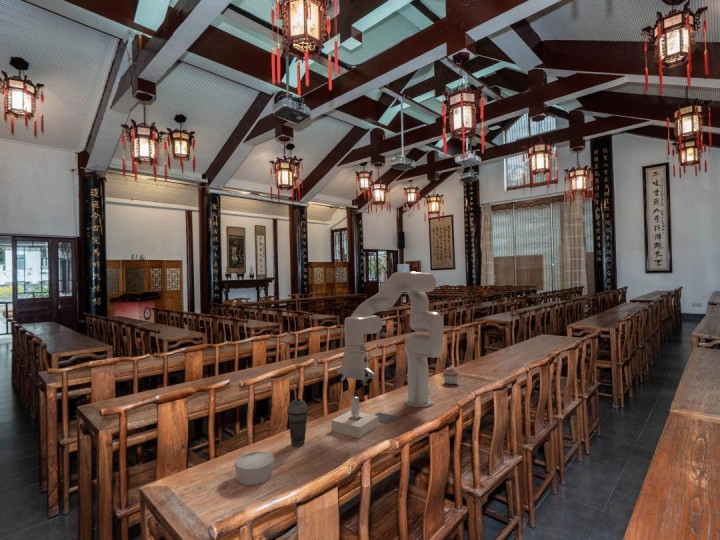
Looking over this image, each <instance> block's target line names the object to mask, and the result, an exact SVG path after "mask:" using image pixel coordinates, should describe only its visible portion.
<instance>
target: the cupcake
mask: <svg viewBox="0 0 720 540" xmlns="http://www.w3.org/2000/svg"><path fill="white" fill-rule="evenodd" d="M441 375H442V377H443V379H444V383H445V384H446V383H447V384H446V385H448V384H451V385H450V386H453V385H452V384H456V385H458V382H459V378H460V376H461V375H460V374H459V372H458V370H457V369H456V368H455V367H454V366H453V365H449V367H446V368H445V369H444V371H443V373H442V374H441Z"/></svg>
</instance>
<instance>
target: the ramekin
mask: <svg viewBox="0 0 720 540" xmlns="http://www.w3.org/2000/svg"><path fill="white" fill-rule="evenodd" d="M274 461H275V457H274V455H273V454H272V453H271V452H268V451H261V450H260V451H259V450H258V451H251V452H247V453H244V454H241V455H240V456H238V457H237V458H236V459H235V461H234V467H235V473H236V478H237V481H238V482H239V483H241V484H242V485H245V486H256V484H257V485H260V484H259V483H261V484H262V482H263V483H265V482H266V481H268V480H269V478H270V477H271V476H272V472H273V466H274ZM267 479H268V480H267ZM264 481H265V482H264Z"/></svg>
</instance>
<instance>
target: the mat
mask: <svg viewBox="0 0 720 540" xmlns="http://www.w3.org/2000/svg"><path fill="white" fill-rule="evenodd" d="M374 415H375V416H378V424H383V425H390V424H391V423H393V422H394V421H396V420H397V419H398V418H399V419H400V416H399V415H394V414H388V413H384V412H380V411H378V412H377V413H375V414H374Z"/></svg>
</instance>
